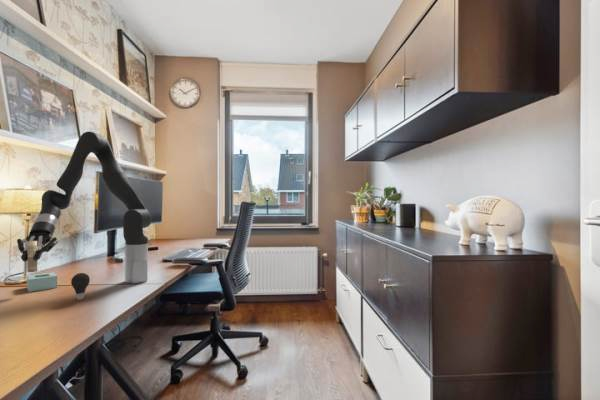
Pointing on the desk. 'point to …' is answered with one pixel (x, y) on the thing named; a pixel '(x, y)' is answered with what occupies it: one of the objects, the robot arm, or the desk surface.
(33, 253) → the dowel
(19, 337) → the desk surface
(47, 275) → the bead block
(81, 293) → the light bulb
